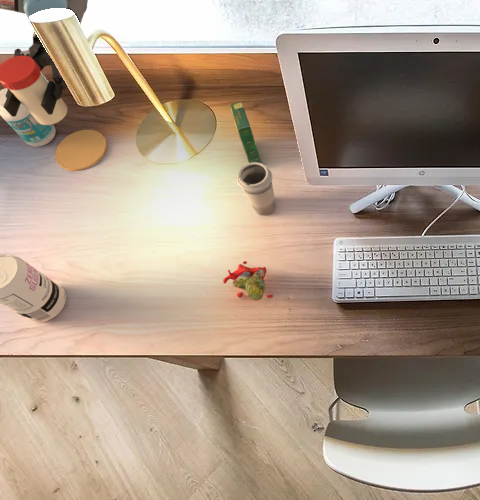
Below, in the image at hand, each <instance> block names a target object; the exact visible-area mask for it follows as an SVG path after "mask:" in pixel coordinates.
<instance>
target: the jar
mask: <svg viewBox="0 0 480 500" xmlns="http://www.w3.org/2000/svg"><path fill="white" fill-rule="evenodd" d="M48 83H49V80H48V79H47V78H46V77H45V75H44V74H43V73H42V72H41V75H40V77H39V78H38V80H37V81H36V82H35V83H34V84H32V85H31V86H29V87H27V88H24V89H21V90H10V89H9V90H10V91H11V92H12V93H13V94H14V96H15V97H16V98H17V99H18V100H19V101H20V102H21V104H22V105H23V106H24V107H25V108H26V109H27V110H28V112H29V113H30V114H31V115H32V116H33V117H34V118H35V120H36V121H37V122H38V123H40V124H42V125H51V124H53V125H54V124H57V123H59V122H60V121H62V120H63V119H64V118H65V117H66V115H67V114H68V106H67V104H66V102H65V101H64V100H63V99H62V97H61V98H60V99H59V100H57V102H56V105H55V108H54V111H53V114H51V115H49V114H48V113H47V112H46V111H45V110H44V108H43V107H42V106H41V103H42V100H43V97H44V94H45V91H46V88H47V85H48Z"/></svg>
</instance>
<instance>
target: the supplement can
mask: <svg viewBox="0 0 480 500" xmlns="http://www.w3.org/2000/svg"><path fill="white" fill-rule="evenodd" d="M66 302H67V294H66V291H65V289H64V288H63V287H61V286H60V285H59V284H57V283H56V282H55V281H53V280H52V279H51V278H49V277H48V276H47V275H46V274H44V273H42V272H41V271H40V270H38V269H37V268H35V267H34V266H33V265H31V264H30V263H28V262H27V261H25V260H24V259H23V258H21V257H19V256H16V255H8V254H0V305H1V306H3V307H6V308H7V309H9V310H11V311H13V312H14V313H16V314H18V315H20V316H21V317H23V318H26V320H29V321H31V322H34V323H45V322H47V321H50V320H53V319H54V318H55V317H57V316H58V315H59V314H60V313H61V311H62V310H63V309H64V307H65V304H66Z"/></svg>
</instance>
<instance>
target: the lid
mask: <svg viewBox="0 0 480 500" xmlns="http://www.w3.org/2000/svg"><path fill="white" fill-rule="evenodd" d="M41 73H42V71H41V70H40V67H39V66H38V64H37V63H36V62H35V61H34V60H33V59H32V58H31V57H29V56H16V57H14V56H12V57H10V58H8V59H6V60H4V61H3V62H1V64H0V84H1V85H2V86H3V87H4V88H7V89H10V90H21V89H24V88H27V87H29V86H31V85H32V84H34V83H35V82H36V81H37V80H38V78H39V77H40V75H41Z"/></svg>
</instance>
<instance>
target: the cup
mask: <svg viewBox="0 0 480 500" xmlns="http://www.w3.org/2000/svg"><path fill="white" fill-rule="evenodd" d="M236 179H237V181H236V182H237V184H238V186H239V187H240V188H241V189H242V190H243V192H244V194H245V195H246V198H247V200H248V201H249V204H250V205H251V206H252V208H253V209H254V211H255V213H256V214H258V215H259V216H263V217H265V216H266V217H267V216H269V215H271V214H272V213H274V212H275V210H276V206H277V204H276V200H275V198H276V197H275V191H274V187H273V173H272V171H271V170H270V168H268V167H267V166H266V165H265V164H263V163H262V162H261V163H258V162H251V163H249V162H248V163H245V164H244V165H242V166H241V168H240V169H239V171H238V173H237V177H236Z"/></svg>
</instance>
